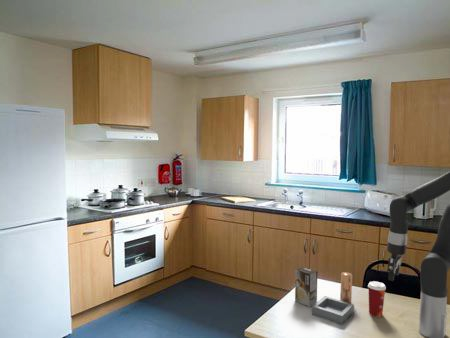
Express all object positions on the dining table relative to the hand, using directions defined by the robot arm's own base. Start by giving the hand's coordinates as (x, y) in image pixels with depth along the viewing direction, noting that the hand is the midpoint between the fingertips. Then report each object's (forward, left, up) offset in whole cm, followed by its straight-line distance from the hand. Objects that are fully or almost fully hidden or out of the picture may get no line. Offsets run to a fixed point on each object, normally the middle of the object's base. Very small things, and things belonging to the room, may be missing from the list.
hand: (393, 277), depth 157 cm
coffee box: (+37, +9, -19) cm, 43 cm away
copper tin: (+22, -4, -19) cm, 29 cm away
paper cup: (+7, -1, -19) cm, 20 cm away
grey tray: (+22, +12, -19) cm, 32 cm away
